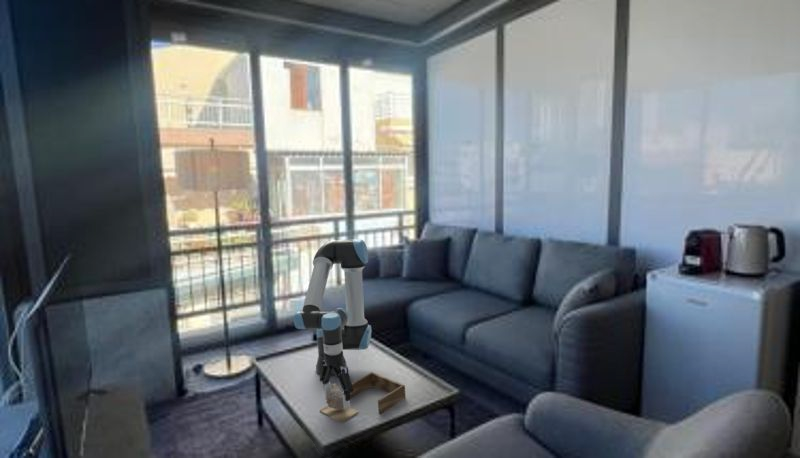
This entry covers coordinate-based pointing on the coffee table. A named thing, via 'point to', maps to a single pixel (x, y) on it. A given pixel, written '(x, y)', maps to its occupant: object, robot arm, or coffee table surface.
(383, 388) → the brown open u-shaped frame
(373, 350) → the coffee table surface
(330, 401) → the mineral specimen
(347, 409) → the mat
